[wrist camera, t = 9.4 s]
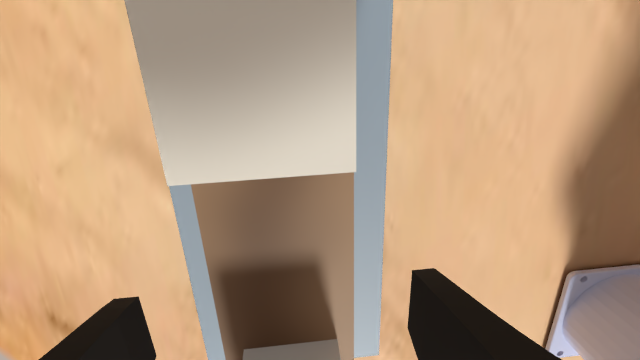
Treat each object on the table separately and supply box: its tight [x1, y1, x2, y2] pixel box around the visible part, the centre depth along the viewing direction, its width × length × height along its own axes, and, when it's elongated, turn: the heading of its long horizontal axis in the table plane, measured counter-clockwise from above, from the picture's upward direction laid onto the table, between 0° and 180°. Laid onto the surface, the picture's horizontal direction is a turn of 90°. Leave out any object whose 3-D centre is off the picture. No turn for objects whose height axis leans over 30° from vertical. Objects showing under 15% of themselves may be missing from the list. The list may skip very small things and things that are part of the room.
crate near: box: [124, 0, 356, 186], centre depth 7 cm, size 4×4×4 cm
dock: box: [169, 0, 393, 360], centre depth 17 cm, size 10×22×3 cm, turn 2°
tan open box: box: [191, 172, 354, 360], centre depth 13 cm, size 5×19×6 cm, turn 2°
